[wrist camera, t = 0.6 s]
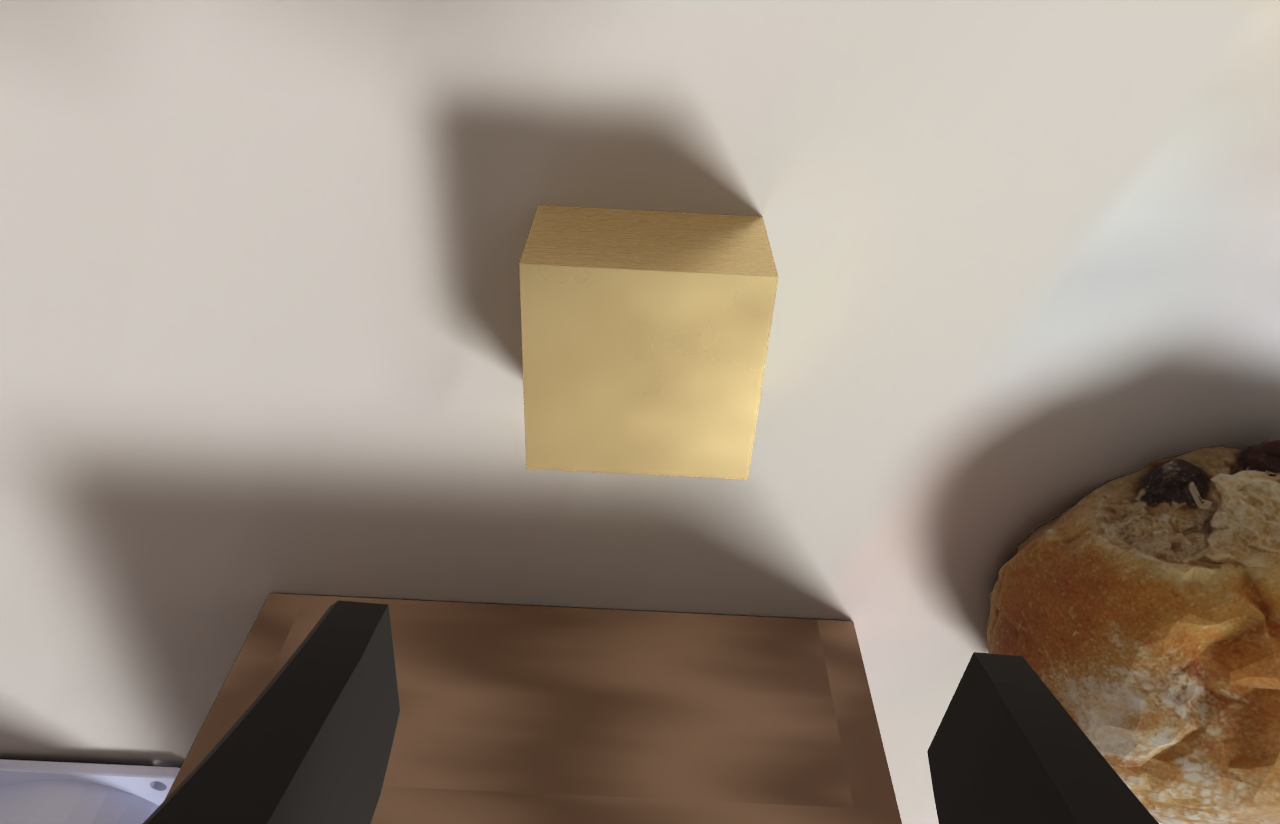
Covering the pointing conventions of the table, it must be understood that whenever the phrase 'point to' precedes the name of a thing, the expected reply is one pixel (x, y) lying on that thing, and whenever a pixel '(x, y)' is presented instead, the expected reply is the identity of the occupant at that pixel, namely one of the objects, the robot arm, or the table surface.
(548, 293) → the brass cube
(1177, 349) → the table surface
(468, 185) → the table surface
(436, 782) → the coin box
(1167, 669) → the bread roll
